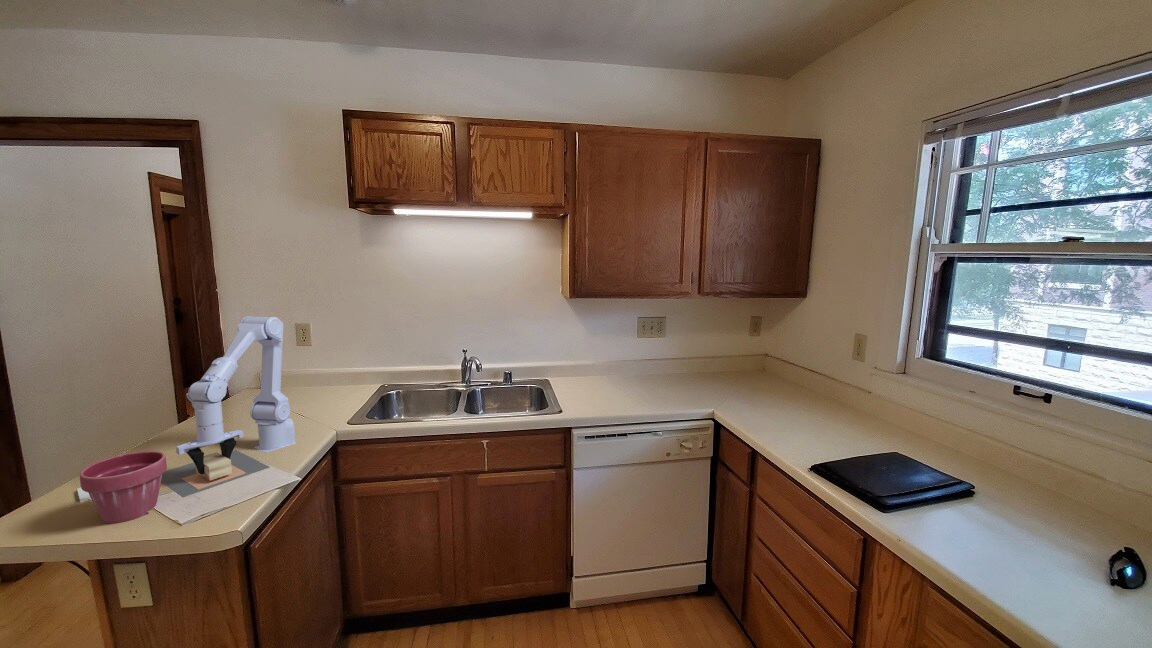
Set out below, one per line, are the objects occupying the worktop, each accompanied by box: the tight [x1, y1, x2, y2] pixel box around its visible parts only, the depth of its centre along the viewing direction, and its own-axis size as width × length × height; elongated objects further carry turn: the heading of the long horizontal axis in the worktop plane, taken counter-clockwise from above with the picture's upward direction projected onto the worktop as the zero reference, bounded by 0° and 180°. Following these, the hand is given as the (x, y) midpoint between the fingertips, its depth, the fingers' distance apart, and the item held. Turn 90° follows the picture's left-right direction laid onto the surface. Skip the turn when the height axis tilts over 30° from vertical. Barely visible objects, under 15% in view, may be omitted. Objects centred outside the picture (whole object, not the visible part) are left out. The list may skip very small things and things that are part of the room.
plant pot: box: [79, 450, 168, 524], centre depth 102 cm, size 14×14×13 cm
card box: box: [196, 451, 232, 480], centre depth 120 cm, size 9×5×4 cm, turn 60°
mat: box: [161, 449, 271, 498], centre depth 123 cm, size 20×22×1 cm
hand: (213, 469), depth 120 cm, fingers closed on card box, 5 cm apart
